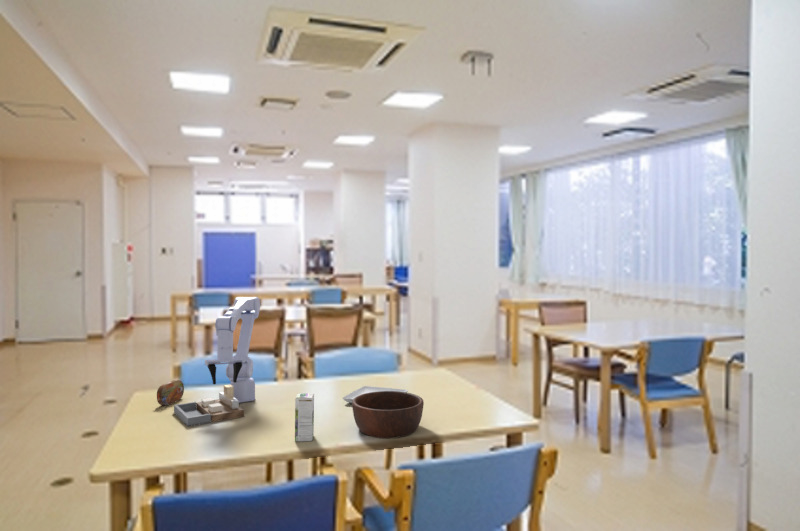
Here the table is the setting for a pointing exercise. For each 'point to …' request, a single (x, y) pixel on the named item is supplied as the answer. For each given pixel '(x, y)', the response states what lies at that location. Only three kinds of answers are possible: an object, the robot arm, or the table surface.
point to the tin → (170, 392)
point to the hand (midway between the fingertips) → (224, 383)
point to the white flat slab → (229, 397)
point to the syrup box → (304, 417)
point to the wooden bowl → (387, 413)
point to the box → (191, 414)
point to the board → (221, 412)
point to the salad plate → (368, 389)
